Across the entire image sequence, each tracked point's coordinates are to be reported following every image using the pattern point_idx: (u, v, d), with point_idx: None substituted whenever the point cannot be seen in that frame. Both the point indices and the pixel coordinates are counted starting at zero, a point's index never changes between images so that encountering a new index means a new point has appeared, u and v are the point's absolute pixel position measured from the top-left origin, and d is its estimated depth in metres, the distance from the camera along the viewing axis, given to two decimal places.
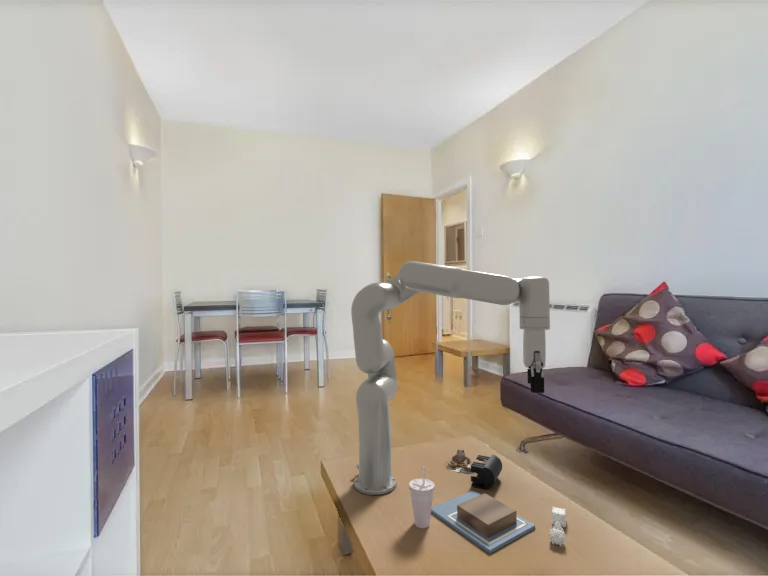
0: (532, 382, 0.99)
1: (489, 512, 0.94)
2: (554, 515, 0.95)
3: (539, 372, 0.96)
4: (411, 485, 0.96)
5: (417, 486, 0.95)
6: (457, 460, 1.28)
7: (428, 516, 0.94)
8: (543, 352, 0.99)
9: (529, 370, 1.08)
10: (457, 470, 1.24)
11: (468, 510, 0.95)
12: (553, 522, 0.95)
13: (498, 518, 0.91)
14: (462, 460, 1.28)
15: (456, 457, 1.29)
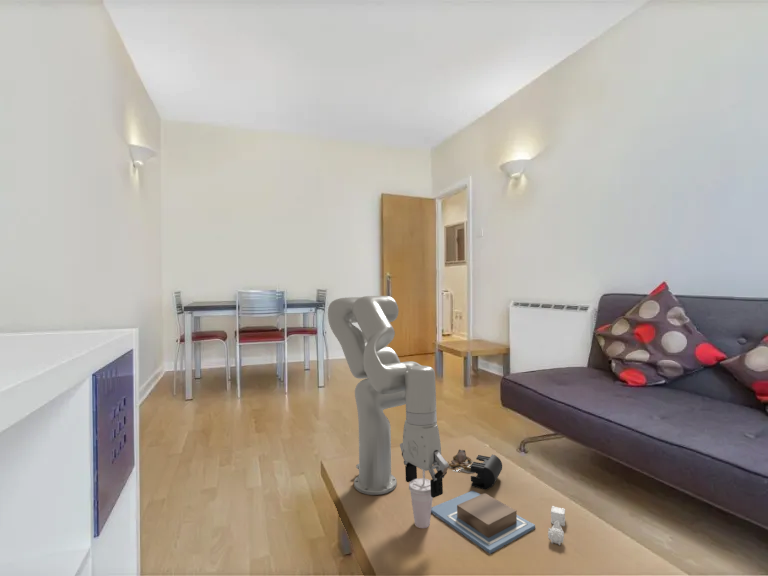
0: (433, 486, 0.91)
1: (489, 512, 0.94)
2: (553, 514, 0.95)
3: (444, 474, 0.90)
4: (411, 485, 0.96)
5: (417, 486, 0.95)
6: (458, 460, 1.28)
7: (428, 516, 0.94)
8: (440, 450, 0.93)
9: (408, 467, 0.99)
10: (457, 470, 1.24)
11: (468, 510, 0.95)
12: (552, 521, 0.95)
13: (498, 518, 0.91)
14: (463, 460, 1.28)
15: (457, 457, 1.29)
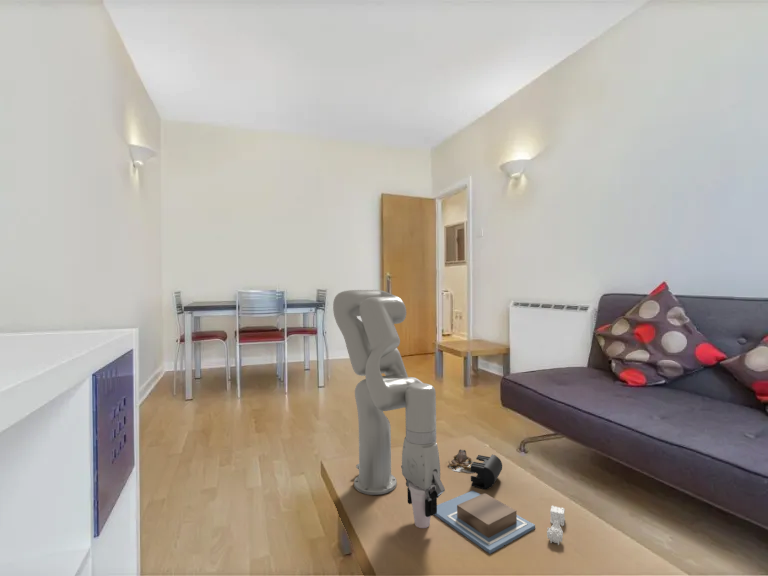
0: (428, 506, 0.92)
1: (489, 512, 0.94)
2: (553, 514, 0.96)
3: None
4: (411, 485, 0.96)
5: (417, 486, 0.95)
6: (458, 460, 1.28)
7: None
8: (439, 468, 0.93)
9: None
10: (458, 470, 1.25)
11: (468, 510, 0.95)
12: (552, 521, 0.96)
13: (498, 518, 0.91)
14: (463, 460, 1.28)
15: (457, 457, 1.29)
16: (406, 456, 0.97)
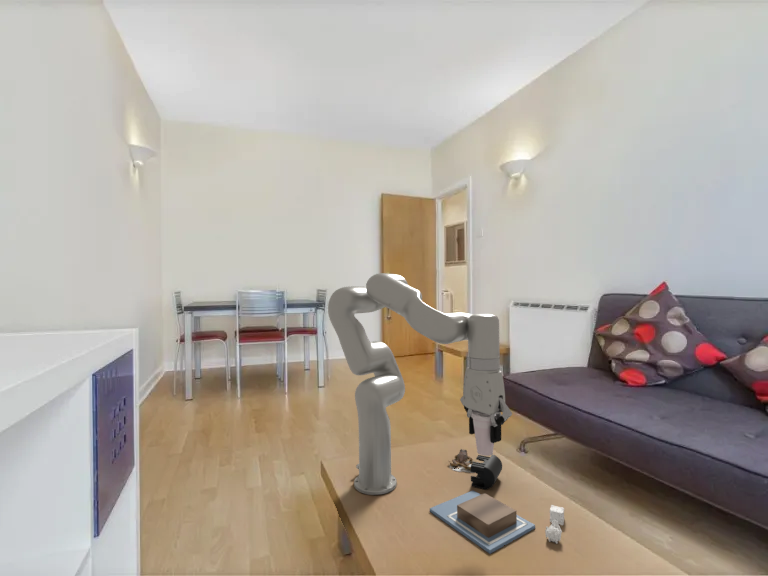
0: (493, 432, 0.92)
1: (489, 512, 0.94)
2: (552, 513, 0.96)
3: (504, 420, 0.92)
4: (474, 414, 0.96)
5: (480, 414, 0.95)
6: (459, 459, 1.28)
7: (492, 444, 0.94)
8: (504, 395, 0.93)
9: (472, 419, 0.98)
10: (458, 469, 1.25)
11: (468, 510, 0.95)
12: (551, 520, 0.96)
13: (498, 518, 0.91)
14: (464, 459, 1.28)
15: (458, 456, 1.29)
16: (469, 385, 0.97)
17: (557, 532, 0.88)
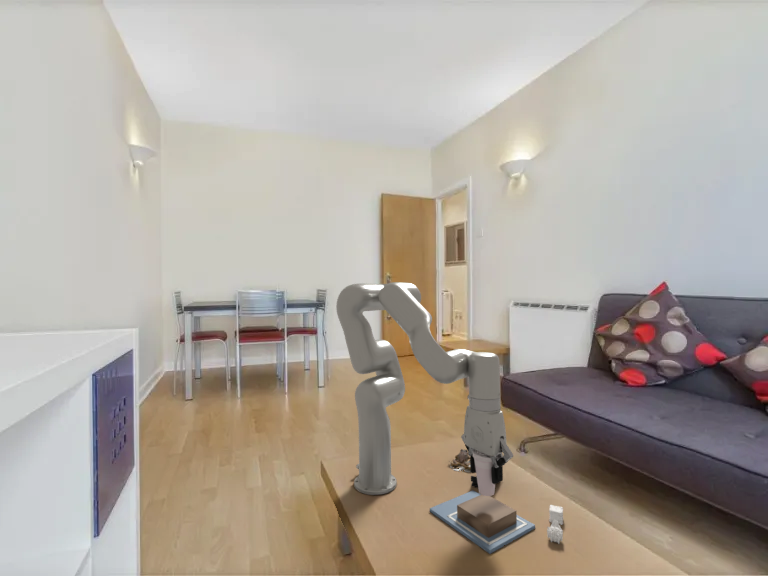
0: (494, 473, 0.92)
1: (489, 512, 0.94)
2: (552, 513, 0.96)
3: (505, 462, 0.91)
4: (475, 453, 0.95)
5: (482, 454, 0.95)
6: (459, 459, 1.28)
7: (493, 484, 0.94)
8: (505, 436, 0.93)
9: (473, 458, 0.98)
10: (458, 469, 1.25)
11: (468, 510, 0.95)
12: (550, 520, 0.96)
13: (498, 518, 0.91)
14: (464, 459, 1.28)
15: (458, 456, 1.29)
16: (470, 425, 0.96)
17: (559, 532, 0.88)
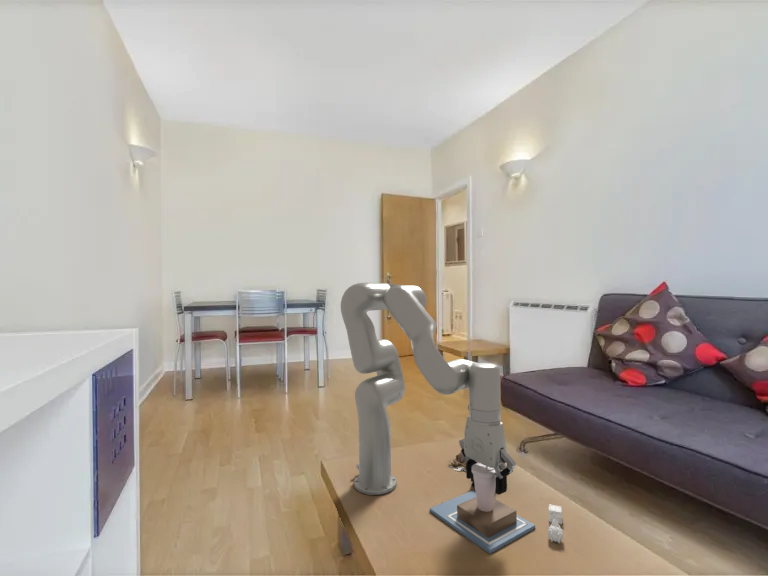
0: (498, 483, 0.91)
1: (489, 512, 0.94)
2: (551, 512, 0.96)
3: (510, 472, 0.90)
4: (474, 469, 0.96)
5: (481, 470, 0.95)
6: (460, 459, 1.29)
7: (492, 500, 0.94)
8: (505, 447, 0.93)
9: (469, 464, 0.99)
10: (458, 469, 1.25)
11: (468, 510, 0.95)
12: (550, 519, 0.96)
13: (498, 518, 0.91)
14: None
15: (459, 456, 1.30)
16: (470, 435, 0.96)
17: (559, 532, 0.88)
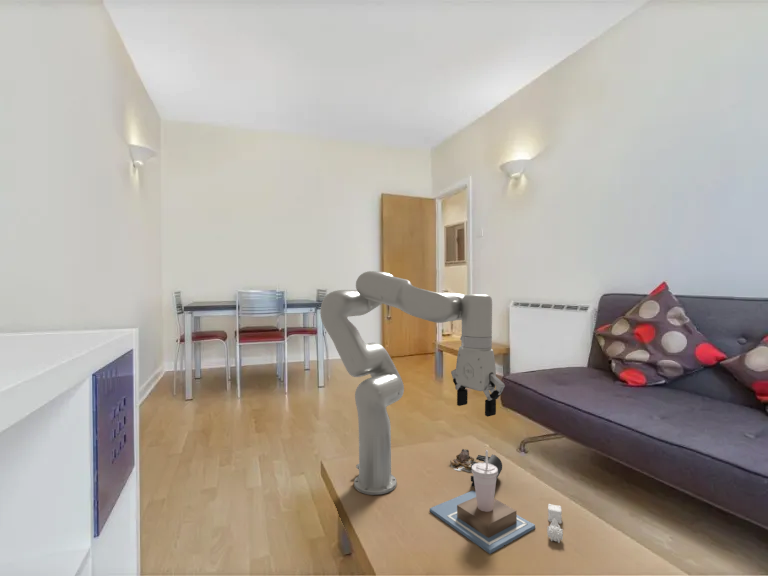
0: (488, 406, 0.94)
1: (489, 512, 0.94)
2: (550, 512, 0.96)
3: (499, 394, 0.93)
4: (474, 469, 0.96)
5: (481, 470, 0.95)
6: (460, 459, 1.29)
7: (492, 500, 0.94)
8: (495, 373, 0.96)
9: (460, 392, 1.02)
10: (459, 469, 1.25)
11: (468, 510, 0.95)
12: (549, 519, 0.96)
13: (498, 518, 0.91)
14: (465, 459, 1.28)
15: (459, 456, 1.30)
16: (461, 363, 1.00)
17: (559, 531, 0.88)
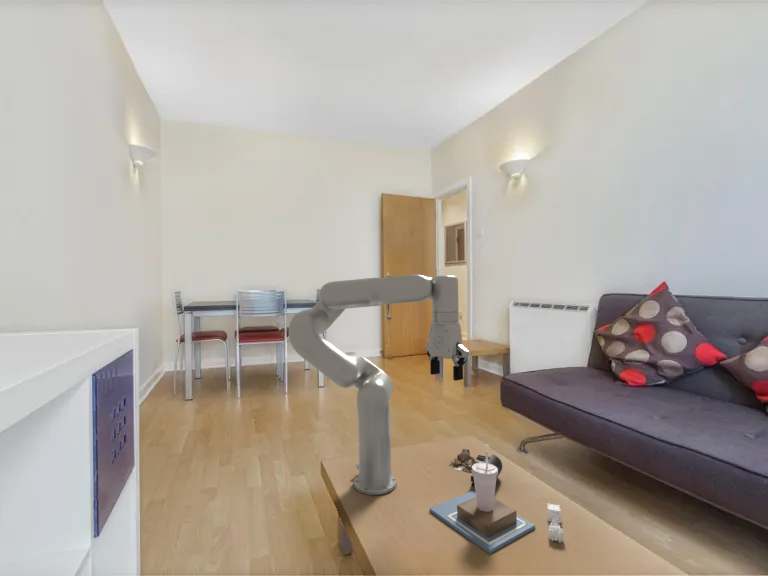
0: (455, 371, 1.08)
1: (489, 512, 0.94)
2: (550, 512, 0.97)
3: (465, 361, 1.07)
4: (474, 469, 0.96)
5: (481, 470, 0.95)
6: (460, 459, 1.29)
7: (492, 500, 0.94)
8: (461, 343, 1.10)
9: (432, 362, 1.16)
10: (459, 468, 1.25)
11: (468, 510, 0.95)
12: (549, 519, 0.97)
13: (498, 518, 0.91)
14: (465, 459, 1.28)
15: (460, 456, 1.30)
16: (433, 336, 1.14)
17: (560, 531, 0.88)
